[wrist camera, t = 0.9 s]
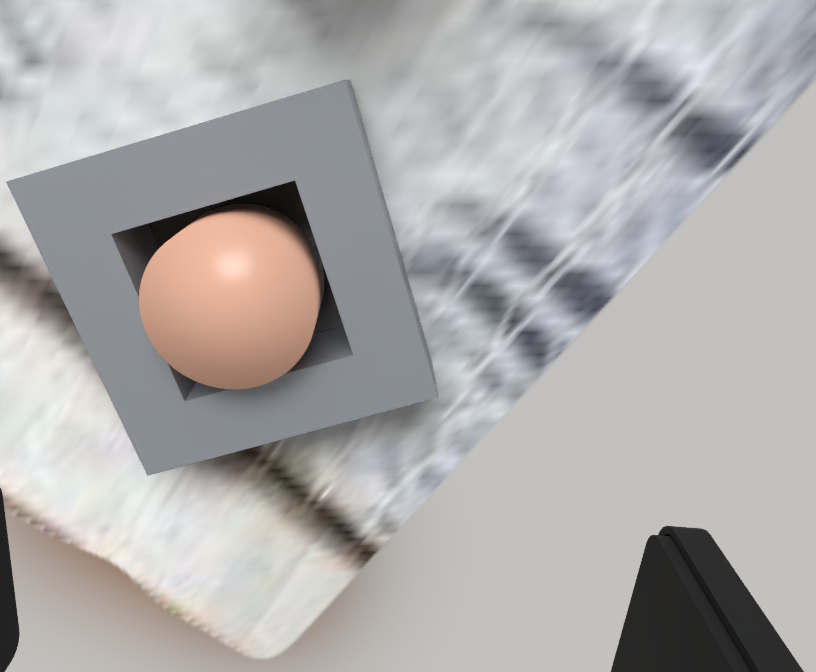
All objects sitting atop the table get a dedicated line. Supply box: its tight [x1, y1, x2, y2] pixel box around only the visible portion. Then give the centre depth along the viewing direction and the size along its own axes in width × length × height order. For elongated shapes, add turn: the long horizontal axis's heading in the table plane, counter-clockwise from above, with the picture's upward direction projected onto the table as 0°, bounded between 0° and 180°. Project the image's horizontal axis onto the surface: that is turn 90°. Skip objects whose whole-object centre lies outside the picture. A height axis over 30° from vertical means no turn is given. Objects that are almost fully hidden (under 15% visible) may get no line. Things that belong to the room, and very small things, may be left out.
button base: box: [6, 80, 438, 475], centre depth 36 cm, size 16×16×5 cm
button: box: [139, 204, 324, 389], centre depth 34 cm, size 8×8×5 cm
